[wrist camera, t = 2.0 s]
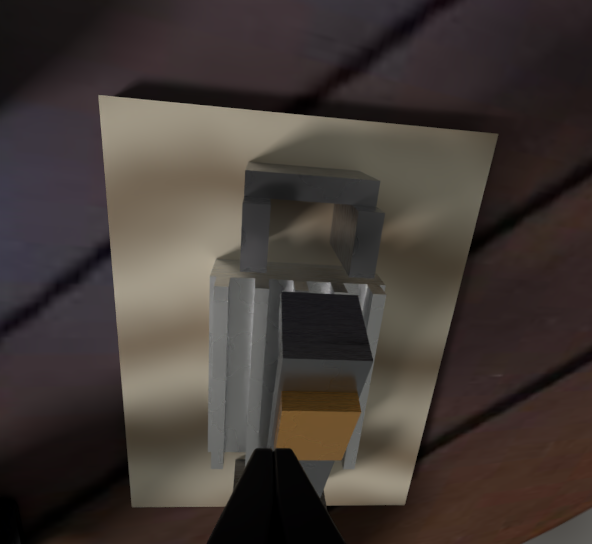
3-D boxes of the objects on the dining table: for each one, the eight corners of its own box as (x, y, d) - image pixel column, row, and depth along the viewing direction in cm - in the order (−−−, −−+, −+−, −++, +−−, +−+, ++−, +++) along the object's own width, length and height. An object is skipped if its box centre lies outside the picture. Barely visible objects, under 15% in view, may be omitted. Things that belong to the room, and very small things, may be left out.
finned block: (346, 421, 24) (359, 469, 20) (213, 419, 23) (204, 469, 20) (372, 267, 20) (393, 295, 17) (215, 258, 19) (206, 285, 16)
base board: (397, 485, 28) (404, 504, 27) (138, 486, 26) (131, 507, 25) (481, 133, 20) (498, 133, 18) (111, 97, 18) (98, 94, 16)
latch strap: (298, 498, 23) (300, 562, 20) (257, 498, 23) (255, 564, 20) (357, 295, 12) (378, 380, 10) (281, 291, 12) (283, 378, 10)
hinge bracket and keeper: (315, 483, 25) (329, 581, 20) (234, 483, 25) (226, 583, 19) (359, 170, 18) (399, 189, 13) (248, 161, 18) (242, 177, 12)
